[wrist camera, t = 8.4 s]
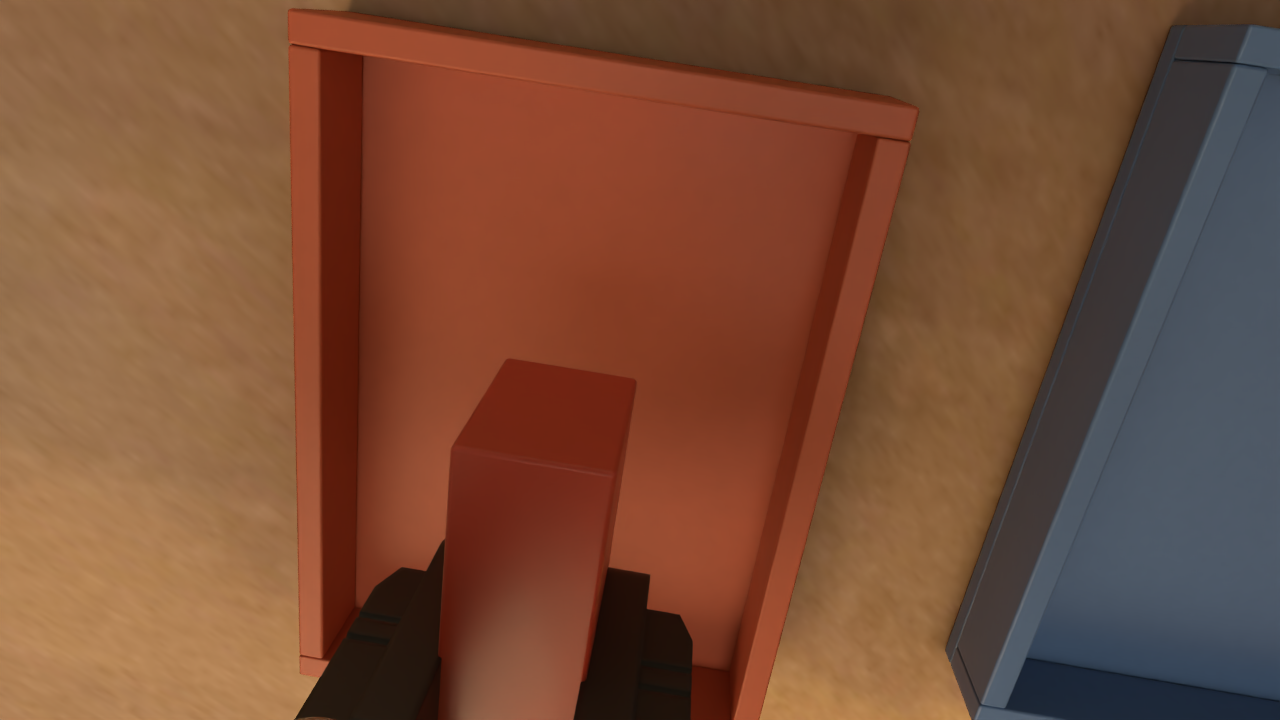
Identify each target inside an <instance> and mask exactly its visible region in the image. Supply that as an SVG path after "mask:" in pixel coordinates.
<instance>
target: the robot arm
mask: <svg viewBox="0 0 1280 720" xmlns="http://www.w3.org/2000/svg"><path fill="white" fill-rule="evenodd" d="M444 550H445V539H444V540H443V541H442V542H441V544H440V546H439V547H438V549H437V551H436V553H435V555H434V557H433V559H432V561H431V563H430V565H429V567H428V568H427V570H426V571H423V570H417V569H411V568H405V567H401V568H400V569H398V570H397V571H395V572H394V573H393V574H391V575H390V576H389V577H387V578H386V579H384V580H383V581H382V582H380V583H379V584H378V585H376V586H375V587H374V589H373V590H372V592H371V594H370V595H369V597H368V599H367V600H366V602H365V604H364V605H363V607H362V609H361V610H360V613H359V616H358V617H356V619H355V620H354V622H353V624H352V625H351V627H350V629H349V630H348V632H347V636H346V638H344V639H343V640H342V642H341V644H340V645H339V647H338V648H337V650H336V652H335V653H334V655H333V657H332V658H331V660H330V662H329V663H328V665H327V667H326V668H325V670H324V672H323V673H322V675H321V677H320V678H319V680H318V682H317V683H316V685H315V687H314V688H313V690H312V692H311V693H310V695H309V697H308V698H307V700H306V702H305V703H304V705H303V707H302V708H301V710H300V712H299V713H298V715H297V717H296V718H295V719H294V720H438V707H439V692H440V677H441V662H442V658H441V657H439V656H438V647H439V631H440V615H441V598H442V582H443V566H444ZM649 584H650V574H646V573H640V572H634V571H628V570H622V569H616V568H610V567H608V570H607V575H606V580H605V585H604V590H603V596H602V601H601V606H600V611H599V617H598V622H597V627H596V632H595V637H594V643H593V648H592V653H591V658H590V664H589V669H588V674H587V679H586V680H585V681H583V682H581V683H580V689H579V694H578V699H577V704H576V709H575V714H574V719H573V720H691V690H692V674H691V673H692V656H693V640H692V638H691V636H690V634H689V632H688V630H687V628H686V626H685V624H684V622H683V620H682V618H681V616H680V614H674V613H668V612H662V611H656V610H651V609H647V602H648V593H649Z"/></svg>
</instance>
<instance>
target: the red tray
mask: <svg viewBox="0 0 1280 720" xmlns="http://www.w3.org/2000/svg"><path fill="white" fill-rule="evenodd" d="M288 40H289V42H290V43H291V44H292V45H290V46H289V100H290V153H291V207H292V260H293V314H294V367H295V421H296V474H297V528H298V581H299V635H300V654H301V655H300V674H303V675H308V676H314V677H321V675H322V673H323V672H324V670H325V668H326V667H327V665H328V663H329V662H330V660H331V658H332V657H333V655H334V653H335V652H336V650H337V648H338V647H339V645H340V644H341V642H342V640H343V639H344V638H346V636H347V632H348V630H349V629H350V627H351V625H352V624H353V622H354V620H355V619H356V617H358V616H359V613H360V610H361V609H362V607H363V605H364V604H365V602H366V600H367V599H368V597H369V595H370V594H371V592H372V590H373V589H374V587H375V586H376V585H378V584H379V583H380V582H382V581H383V580H384V579H386V578H387V577H389V576H390V575H391V574H393V573H394V572H395V571H397V570H398V569H400V568H401V567H405V568H411V569H417V570H423V571H426V570H427V568H428V567H429V565H430V563H431V561H432V559H433V557H434V555H435V553H436V551H437V549H438V547H439V546H440V544H441V542H442V541H443V540H444V539H445V533H446V517H447V501H448V485H449V468H450V452H451V447H452V446H453V444H454V442H455V441H456V439H457V438H458V436H459V434H460V433H461V431H462V429H463V428H464V426H465V425H466V423H467V421H468V420H469V418H470V417H471V415H472V413H473V412H474V410H475V409H476V407H477V405H478V404H479V402H480V400H481V399H482V397H483V396H484V394H485V392H486V391H487V389H488V388H489V386H490V384H491V383H492V381H493V380H494V378H495V376H496V375H497V373H498V371H499V370H500V368H501V367H502V365H503V363H504V362H505V360H506V359H509V358H511V359H517V360H523V361H530V362H536V363H542V364H548V365H554V366H560V367H566V368H572V369H579V370H585V371H591V372H597V373H603V374H609V375H615V376H621V377H627V378H633V379H635V380H636V383H637V385H636V392H635V398H634V405H633V411H632V417H631V424H630V430H629V437H628V443H627V450H626V456H625V463H624V469H623V476H622V482H621V489H620V495H619V501H618V508H617V514H616V521H615V527H614V534H613V540H612V547H611V553H610V560H609V566H608V567H610V568H616V569H622V570H628V571H634V572H640V573H646V574H650V584H649V593H648V602H647V609H651V610H656V611H662V612H668V613H674V614H680V616H681V618H682V620H683V622H684V624H685V626H686V628H687V630H688V632H689V634H690V636H691V638H692V640H693V656H692V673H691V674H692V690H691V720H759V718H760V714H761V711H762V707H763V703H764V699H765V695H766V692H767V688H768V684H769V680H770V676H771V673H772V669H773V665H774V661H775V657H776V654H777V650H778V646H779V642H780V639H781V635H782V631H783V627H784V623H785V620H786V616H787V612H788V608H789V604H790V601H791V597H792V593H793V589H794V585H795V582H796V578H797V574H798V570H799V567H800V563H801V559H802V555H803V551H804V548H805V544H806V540H807V536H808V532H809V529H810V525H811V521H812V517H813V514H814V510H815V506H816V502H817V498H818V495H819V491H820V487H821V483H822V479H823V476H824V472H825V468H826V464H827V460H828V457H829V453H830V449H831V445H832V442H833V438H834V434H835V430H836V426H837V423H838V419H839V415H840V411H841V407H842V404H843V400H844V396H845V392H846V389H847V385H848V381H849V377H850V373H851V370H852V366H853V362H854V358H855V354H856V351H857V347H858V343H859V339H860V335H861V332H862V328H863V324H864V320H865V317H866V313H867V309H868V305H869V301H870V298H871V294H872V290H873V286H874V282H875V279H876V275H877V271H878V267H879V264H880V260H881V256H882V252H883V248H884V245H885V241H886V237H887V233H888V229H889V226H890V222H891V218H892V214H893V210H894V207H895V203H896V199H897V195H898V192H899V188H900V184H901V180H902V176H903V173H904V169H905V165H906V161H907V157H908V154H909V150H910V146H911V144H910V143H909V142H908V141H910V140H911V139H912V137H913V133H914V130H915V126H916V122H917V118H918V115H919V108H918V107H916V106H914V105H911V104H909V103H906V102H903V101H900V100H898V99H895V98H893V97H890V96H884V95H878V94H871V93H865V92H858V91H852V90H846V89H839V88H833V87H827V86H820V85H814V84H807V83H801V82H795V81H788V80H782V79H776V78H769V77H763V76H756V75H750V74H744V73H737V72H731V71H725V70H718V69H712V68H705V67H699V66H693V65H686V64H680V63H674V62H667V61H661V60H654V59H648V58H642V57H635V56H629V55H623V54H616V53H610V52H603V51H597V50H591V49H584V48H578V47H572V46H565V45H559V44H552V43H546V42H540V41H533V40H527V39H521V38H514V37H508V36H501V35H495V34H489V33H482V32H476V31H470V30H463V29H457V28H450V27H444V26H438V25H431V24H425V23H419V22H412V21H406V20H399V19H393V18H387V17H380V16H374V15H368V14H361V13H355V12H348V11H332V10H314V9H295V8H292V9H289V10H288Z"/></svg>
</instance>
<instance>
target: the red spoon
mask: <svg viewBox="0 0 1280 720" xmlns="http://www.w3.org/2000/svg"><path fill="white" fill-rule="evenodd" d="M636 385H637V383H636V380H635V379H633V378H627V377H621V376H615V375H609V374H603V373H597V372H591V371H585V370H579V369H572V368H566V367H560V366H554V365H548V364H542V363H536V362H530V361H523V360H517V359H511V358H509V359H506V360H505V362H504V363H503V365H502V367H501V368H500V370H499V371H498V373H497V375H496V376H495V378H494V380H493V381H492V383H491V384H490V386H489V388H488V389H487V391H486V392H485V394H484V396H483V397H482V399H481V400H480V402H479V404H478V405H477V407H476V409H475V410H474V412H473V413H472V415H471V417H470V418H469V420H468V421H467V423H466V425H465V426H464V428H463V429H462V431H461V433H460V434H459V436H458V438H457V439H456V441H455V442H454V444H453V446H452V447H451V452H450V468H449V485H448V501H447V517H446V533H445V550H444V566H443V582H442V598H441V615H440V631H439V647H438V656H439V657H441V658H442V662H441V677H440V692H439V707H438V720H573V719H574V714H575V709H576V704H577V699H578V694H579V689H580V683H581V682H583V681H585V680H586V679H587V674H588V669H589V664H590V658H591V653H592V648H593V643H594V637H595V632H596V627H597V622H598V617H599V611H600V606H601V601H602V596H603V590H604V585H605V580H606V575H607V570H608V566H609V560H610V553H611V547H612V540H613V534H614V527H615V521H616V514H617V508H618V501H619V495H620V489H621V482H622V476H623V469H624V463H625V456H626V450H627V443H628V437H629V430H630V424H631V417H632V411H633V405H634V398H635V392H636Z"/></svg>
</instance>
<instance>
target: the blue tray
mask: <svg viewBox="0 0 1280 720" xmlns="http://www.w3.org/2000/svg"><path fill="white" fill-rule="evenodd" d="M945 651H946V654H947V656H948V659H949V662H950V663H951V666H952V669H953V672H954V674H955V677H956V680H957V682H958V685H959V688H960V690H961V693H962V696H963V698H964V701H965V704H966V706H967V709H968V711H969V714H970V717H971V719H972V720H1280V28H1273V27H1267V26H1260V25H1254V24H1236V25H1175V26H1172V28H1171V30H1170V32H1169V35H1168V38H1167V41H1166V43H1165V46H1164V49H1163V52H1162V54H1161V57H1160V60H1159V63H1158V65H1157V68H1156V71H1155V74H1154V76H1153V79H1152V82H1151V85H1150V87H1149V90H1148V93H1147V96H1146V98H1145V101H1144V104H1143V107H1142V109H1141V112H1140V115H1139V118H1138V120H1137V123H1136V126H1135V129H1134V131H1133V134H1132V137H1131V140H1130V142H1129V145H1128V148H1127V151H1126V153H1125V156H1124V159H1123V162H1122V164H1121V167H1120V170H1119V173H1118V175H1117V178H1116V181H1115V184H1114V187H1113V189H1112V192H1111V195H1110V198H1109V200H1108V203H1107V206H1106V209H1105V211H1104V214H1103V217H1102V220H1101V222H1100V225H1099V228H1098V231H1097V233H1096V236H1095V239H1094V242H1093V244H1092V247H1091V250H1090V253H1089V255H1088V258H1087V261H1086V264H1085V266H1084V269H1083V272H1082V275H1081V277H1080V280H1079V283H1078V286H1077V288H1076V291H1075V294H1074V297H1073V299H1072V302H1071V305H1070V308H1069V310H1068V313H1067V316H1066V319H1065V321H1064V324H1063V327H1062V330H1061V332H1060V335H1059V338H1058V341H1057V343H1056V346H1055V349H1054V352H1053V354H1052V357H1051V360H1050V363H1049V365H1048V368H1047V371H1046V374H1045V376H1044V379H1043V382H1042V385H1041V387H1040V390H1039V393H1038V396H1037V398H1036V401H1035V404H1034V407H1033V410H1032V412H1031V415H1030V418H1029V421H1028V423H1027V426H1026V429H1025V432H1024V434H1023V437H1022V440H1021V443H1020V445H1019V448H1018V451H1017V454H1016V456H1015V459H1014V462H1013V465H1012V467H1011V470H1010V473H1009V476H1008V478H1007V481H1006V484H1005V487H1004V489H1003V492H1002V495H1001V498H1000V500H999V503H998V506H997V509H996V511H995V514H994V517H993V520H992V522H991V525H990V528H989V531H988V533H987V536H986V539H985V542H984V544H983V547H982V550H981V553H980V555H979V558H978V561H977V564H976V566H975V569H974V572H973V575H972V577H971V580H970V583H969V586H968V588H967V591H966V594H965V597H964V599H963V602H962V605H961V608H960V610H959V613H958V616H957V619H956V622H955V624H954V627H953V630H952V633H951V635H950V638H949V641H948V644H947V646H946V649H945Z"/></svg>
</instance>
